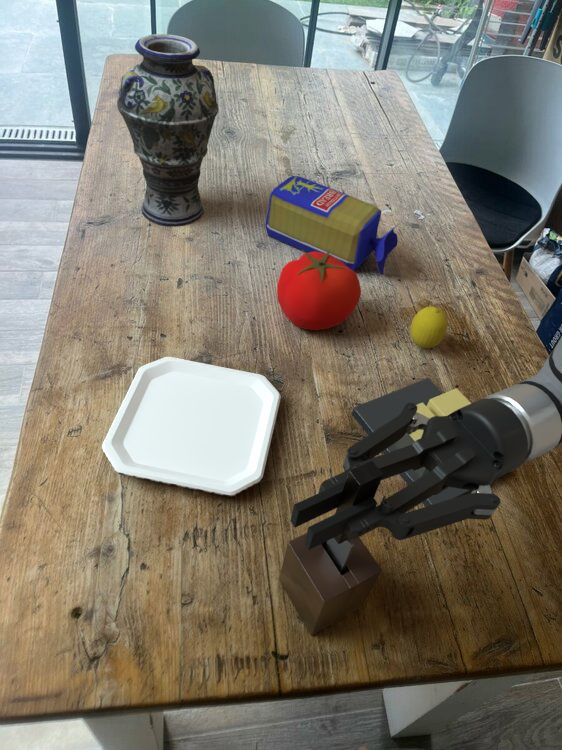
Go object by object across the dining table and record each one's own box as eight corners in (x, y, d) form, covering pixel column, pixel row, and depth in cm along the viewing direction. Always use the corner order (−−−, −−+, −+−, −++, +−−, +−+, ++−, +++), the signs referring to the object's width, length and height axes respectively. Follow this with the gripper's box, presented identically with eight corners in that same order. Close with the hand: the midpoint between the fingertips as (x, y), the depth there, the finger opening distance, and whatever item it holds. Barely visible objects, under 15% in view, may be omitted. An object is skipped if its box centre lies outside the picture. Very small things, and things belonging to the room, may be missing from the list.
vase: (113, 197, 116) (94, 30, 94) (191, 181, 123) (190, 22, 102) (148, 241, 107) (136, 68, 85) (230, 220, 114) (238, 56, 93)
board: (509, 473, 79) (513, 467, 78) (431, 514, 73) (434, 508, 72) (425, 384, 89) (428, 377, 88) (351, 414, 84) (353, 407, 82)
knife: (344, 583, 61) (388, 480, 47) (326, 594, 60) (365, 492, 46) (329, 559, 63) (367, 453, 49) (310, 569, 62) (344, 464, 48)
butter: (474, 438, 81) (486, 418, 78) (448, 451, 79) (458, 431, 76) (446, 408, 84) (456, 387, 81) (420, 419, 82) (429, 399, 79)
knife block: (364, 605, 65) (382, 570, 58) (311, 636, 62) (324, 602, 55) (329, 553, 68) (343, 514, 62) (278, 579, 66) (287, 541, 59)
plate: (283, 388, 86) (285, 378, 84) (256, 509, 71) (257, 499, 70) (147, 361, 86) (146, 350, 85) (93, 475, 72) (91, 465, 71)
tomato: (280, 288, 102) (288, 231, 93) (356, 303, 101) (370, 247, 93) (266, 333, 93) (273, 276, 85) (348, 350, 93) (363, 294, 84)
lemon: (416, 361, 93) (431, 323, 87) (398, 338, 96) (411, 300, 90) (444, 353, 94) (461, 316, 89) (425, 331, 98) (440, 294, 92)
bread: (285, 214, 118) (291, 167, 110) (396, 261, 111) (411, 213, 103) (258, 236, 112) (263, 187, 104) (374, 287, 105) (388, 238, 97)
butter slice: (441, 454, 78) (452, 434, 75) (430, 459, 77) (440, 439, 74) (413, 422, 82) (422, 402, 78) (402, 427, 81) (411, 406, 78)
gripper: (539, 509, 57) (341, 623, 47) (441, 405, 65) (256, 484, 55) (575, 465, 51) (360, 584, 42) (463, 358, 60) (263, 436, 50)
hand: (301, 527), depth 49 cm, fingers closed on knife, 2 cm apart
